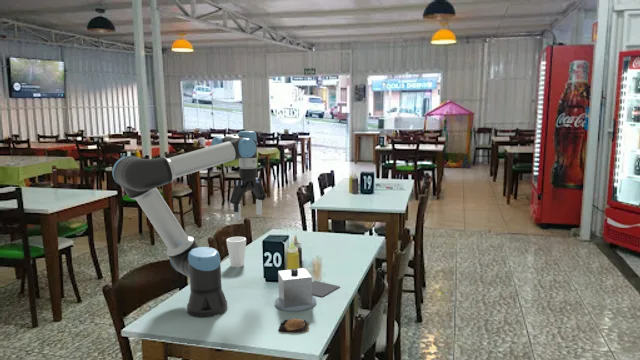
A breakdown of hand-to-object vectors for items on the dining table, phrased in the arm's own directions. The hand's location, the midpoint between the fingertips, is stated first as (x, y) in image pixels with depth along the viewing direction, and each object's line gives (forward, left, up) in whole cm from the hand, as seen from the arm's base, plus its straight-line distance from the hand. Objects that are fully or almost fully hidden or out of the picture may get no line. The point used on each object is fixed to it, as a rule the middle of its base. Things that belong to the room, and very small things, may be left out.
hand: (248, 217), depth 217 cm
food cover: (-7, -30, -29) cm, 42 cm away
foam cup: (+15, +23, -30) cm, 41 cm away
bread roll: (-24, -43, -31) cm, 58 cm away
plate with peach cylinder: (-7, -30, -30) cm, 43 cm away
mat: (+10, -29, -30) cm, 43 cm away
